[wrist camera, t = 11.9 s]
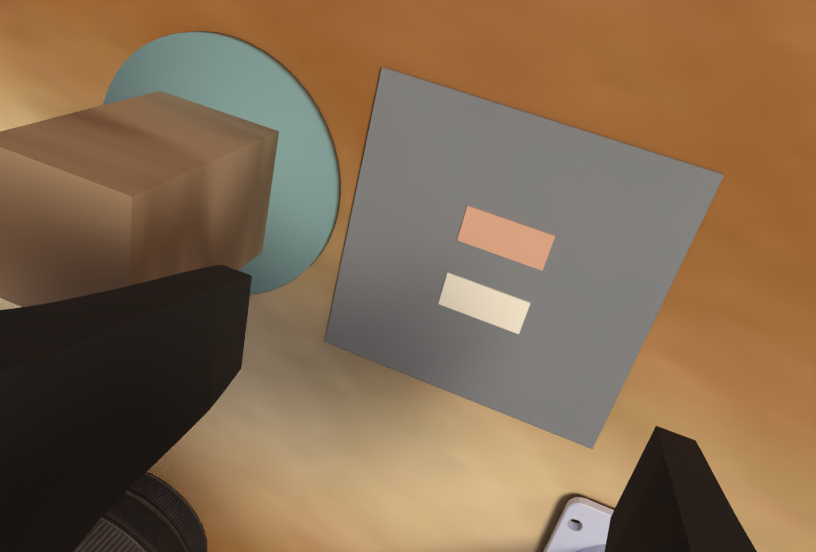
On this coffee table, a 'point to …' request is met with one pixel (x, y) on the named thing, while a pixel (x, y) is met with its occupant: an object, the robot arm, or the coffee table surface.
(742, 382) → the coffee table surface
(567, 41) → the coffee table surface
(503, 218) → the grey square plate
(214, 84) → the coaster
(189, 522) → the camera lens
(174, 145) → the walnut block
